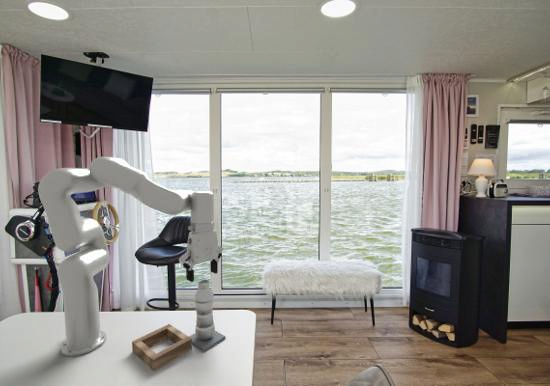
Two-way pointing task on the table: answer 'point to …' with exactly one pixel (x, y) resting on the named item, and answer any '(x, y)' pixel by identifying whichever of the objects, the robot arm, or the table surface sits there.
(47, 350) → the table surface
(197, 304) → the plastic bottle
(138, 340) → the wooden frame
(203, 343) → the rubber mat
